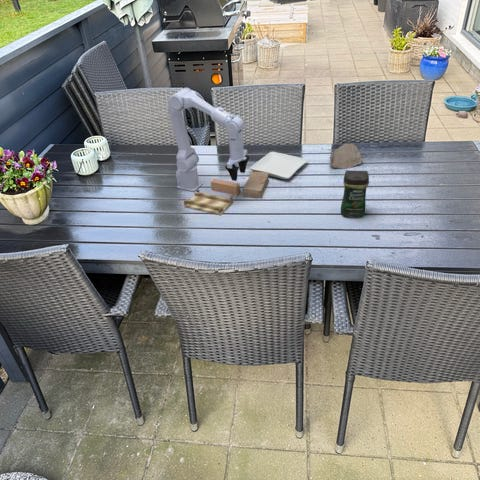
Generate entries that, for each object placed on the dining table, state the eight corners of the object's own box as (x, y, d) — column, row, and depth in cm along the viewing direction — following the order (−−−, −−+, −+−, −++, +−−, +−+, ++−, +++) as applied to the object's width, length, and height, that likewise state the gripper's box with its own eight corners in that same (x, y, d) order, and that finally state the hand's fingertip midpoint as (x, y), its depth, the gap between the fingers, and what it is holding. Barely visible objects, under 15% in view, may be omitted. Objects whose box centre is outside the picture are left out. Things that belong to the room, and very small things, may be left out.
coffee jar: (340, 218, 178) (344, 176, 167) (340, 207, 184) (343, 167, 173) (366, 219, 176) (371, 177, 165) (364, 208, 183) (369, 167, 172)
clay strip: (211, 190, 203) (210, 181, 201) (215, 187, 205) (214, 178, 203) (236, 195, 198) (235, 187, 195) (240, 192, 200) (239, 183, 197)
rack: (184, 207, 193) (183, 201, 191) (198, 194, 200) (197, 189, 199) (220, 215, 185) (220, 209, 183) (233, 202, 193) (232, 196, 191)
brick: (261, 199, 194) (261, 189, 192) (242, 197, 196) (242, 188, 194) (269, 181, 207) (269, 172, 204) (251, 179, 209) (251, 170, 206)
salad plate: (309, 164, 218) (309, 158, 216) (288, 184, 204) (288, 177, 202) (271, 156, 228) (270, 150, 226) (249, 174, 213) (248, 168, 211)
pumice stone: (331, 169, 211) (332, 150, 206) (328, 162, 218) (329, 143, 212) (363, 167, 211) (365, 147, 205) (359, 160, 217) (361, 141, 211)
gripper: (236, 155, 177) (238, 185, 185) (253, 141, 187) (254, 170, 195) (221, 152, 180) (223, 182, 188) (238, 138, 190) (240, 167, 198)
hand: (238, 176), depth 191 cm, fingers open, 7 cm apart
